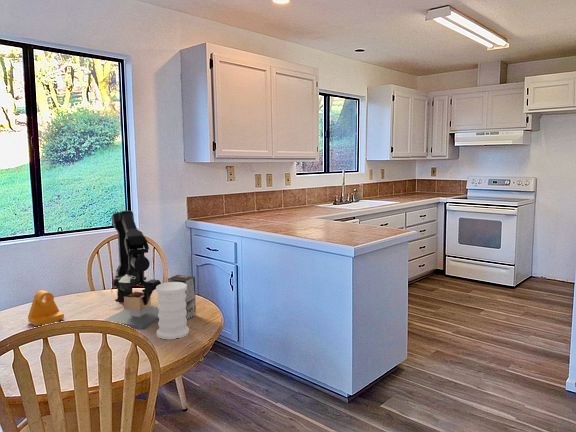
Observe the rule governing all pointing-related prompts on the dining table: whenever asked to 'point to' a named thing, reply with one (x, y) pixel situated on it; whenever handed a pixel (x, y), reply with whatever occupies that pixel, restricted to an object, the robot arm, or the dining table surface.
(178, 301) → the decorative container
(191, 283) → the coffee box
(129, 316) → the duct base
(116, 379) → the dining table surface
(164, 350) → the dining table surface
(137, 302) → the collar
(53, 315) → the bracket
